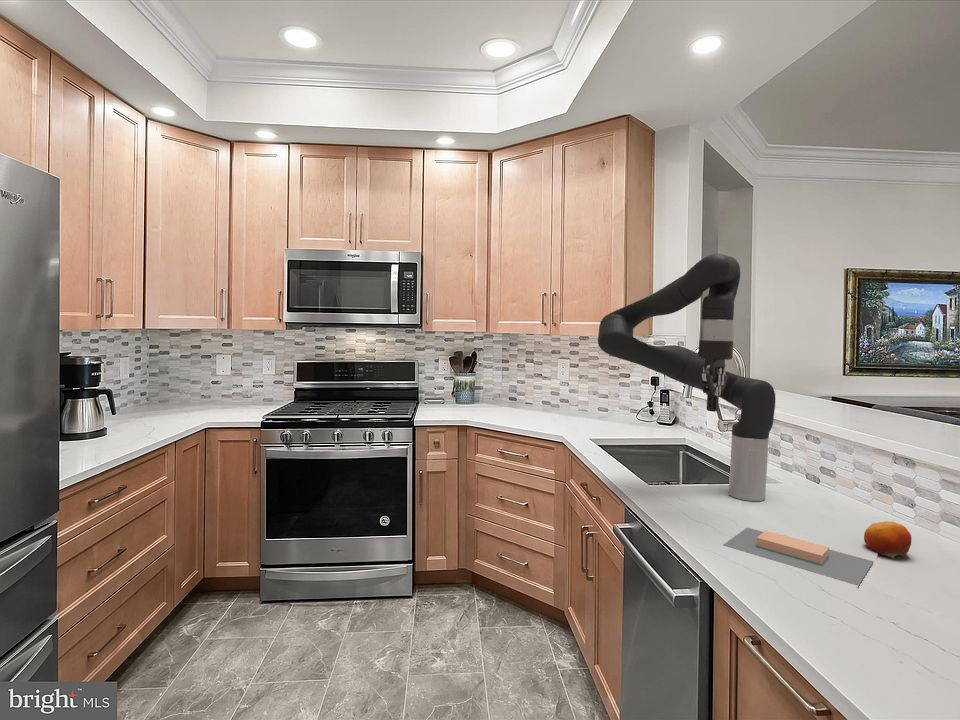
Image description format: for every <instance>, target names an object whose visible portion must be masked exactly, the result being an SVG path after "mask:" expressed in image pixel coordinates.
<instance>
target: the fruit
mask: <svg viewBox="0 0 960 720" xmlns="http://www.w3.org/2000/svg"><path fill="white" fill-rule="evenodd" d="M863 542H864V543H865V544H866V546H867V547H868V549H870V550H871V551H873V552H876V553H877V554H878V555H879V556H885V557H889V558H891V559H895V557H896V556H902V557H906V558H907V559H909V560H910V559H911V558H910V557H909V556H908V553H909V552H910V548H911V547H912V534H911V532H910V531H909V530H908V528H907V527H906V526H904V525H903V524H901V523H898V522H895V521H879V522H874V523H871V524H870V525H869V526H868V527H867V528H866V529H865V531H864V533H863Z"/></svg>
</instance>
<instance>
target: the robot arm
mask: <svg viewBox="0 0 960 720" xmlns="http://www.w3.org/2000/svg"><path fill="white" fill-rule="evenodd" d="M740 280H741V267H740V264H739V261H738V260H737V259H735V257H732V256H729V255H726V254H721V253H712V254H709V255H706V256H705V257H703V258H701V259H700V260H699V261H698V262H696V263H695V264H694V265H692V267H691V268H689V269H688V270H687V272H685V274H683V275H682V276H680V277H678V278H676V279H675V280H673V281H671V282H670V283H669V284H667V285H666V286H663V287H662V288H661V289H658V291H655V292H654V293H652V294H650V295H648V296H646V297H643V298H642V299H639V300H637V301H635V302H632V303H631V304H628V305H626V306H623V307H620V308H619V309H616V310H613V311H612V312H610V313H607V314H606V315H605V316H604V317H603V318H602V319H601V321H600V323H599V329H598V335H597V343H598V344H597V345H598V347H599V348H600V350H601V351H603V352H604V353H605V354H606V355H607V354H608V355H609V356H611V357H612V356H613V357H615V358H618V359H621V360H624V361H627V362H630V363H634V364H636V365H639V366H642V367H644V368H647V369H649V370H652V371H654V372H656V373H659V374H662V375H664V376H666V377H667V378H670V379H672V380H674V381H676V382H678V383H681V384H683V385H687V386H688V387H692V388H695V389H699V390H701V391H702V392H703V394H705V395H706V411H708V412H718V411H719V400H720V398H721V399H722V400H723V401H726V402H727V403H728V404H731V405H732V406H734V407H735V408H737V409H739V410H741V411H740V418H739V420H738V421H737V422H735V423H734V424H733V425H732V428H731V445H730V446H731V447H730V463H729V466H730V467H729V480H728V495H729V496H731V497H733V498H736V499H739V500H743V501H749V502H762V501H764V500H766V489H767V488H766V487H767V474H768V473H767V472H768V471H767V470H768V457H769V456H768V455H769V440H770V439H769V438H770V432H771V430H772V428H773V425H774V418H775V409H776V392H775V389H774V387H773V385H772V384H771V383H769V382H767V381H766V380H762V379H759V378H758V379H757V378H752V377H745V376H743V375H738V374H735V373H732V372H729V371H726V370H727V367H726V361H729V360H732V359H733V355H734V338H735V325H734V316H735V314H734V313H735V300H736V299H735V298H736V296H737V293H738V288H739V285H740ZM707 290H708V294H707V295H706V296H705V297H704V298H703V300H702V304H701V318H700V320H701V321H700V326H699V335H698V336H699V337H698V352H695V351H693V350H692V349H689V348H686V347H684V346H681V345H674V344H673V345H672V344H670V345H669V344H667V345H660V346H659V345H652V344H650V343H646V342H644V341H642V340H639V339H637V338H636V337H634V329H635V328H636V327H637V326H638V325H639V324H641V323H643V322H644V321H645V320H648V319H650V318H653V317H657V316H666V315H670V314H674V313H677V312H679V311H681V310H683V309H684V308H686V307H687V306H689V305H691V304H693V303H694V302H696V301H698V300H699V299H700V298H701V297H702V296H703V294H704V292H705V291H707ZM725 360H726V361H725Z"/></svg>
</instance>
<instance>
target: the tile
mask: <svg viewBox="0 0 960 720" xmlns="http://www.w3.org/2000/svg"><path fill="white" fill-rule="evenodd" d="M762 532H763V533H762V534H760V535H759V536H758V537H757V538H756V547H758V548H762V549H765V550H769V551H772V552H776V553H779V554H783V555H786V556H790V557H793V558H797V559H800V560H804V561H807V562H811V563H814V564H817V565H821V566H822V564H823V563H824V562H825V561H826V559H827V558H828V557H829V549H830V546H827V545H822V544H819V543H814V542H810V541H807V540H803V539H800V538H795V537H791V536H788V535H785V534H780V533H777V532H773V531H770V530H764V531H762Z"/></svg>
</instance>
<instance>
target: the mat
mask: <svg viewBox="0 0 960 720" xmlns="http://www.w3.org/2000/svg"><path fill="white" fill-rule="evenodd" d="M763 532H764V531H763V530H758V529H754V528H750V527H746V528H744V529H743V530H742V531H740V532H739V533H737V534H736V535H735V536H733V537H731V539H729V540H727V542H725V543H724V544H722V546H725V547H727V548H731V549H734V550H737V551H740V552H744V553H748V554H749V555H750V554H751V555H754V556H756V557H757V556H758V557H760V558H764V559H768V560H771V561H775V562H778V563H781V564H784V565H788V566H791V567H794V568H798V569H799V570H800V569H801V570H804V571H808V572H811V573H813V574H814V573H815V574H818V575H820V576H825V577H828V578H831V579H834V580H837V581H841V582H844V583H848V584H852V585H854V586H856V587H857V588H858V589H859V588H860V587H861V585H862V584H861V583H863V582H864V580H865V579H864V578H866V577H867V575H868V574H867V573H869V572H870V570H871V569H872V567H873V565H874V560H871V559H866V558H863V557H859V556H855V555H853V554H849V553H848V554H847V553H845V552H844V553H843V552H840V551H837V550H834V549H833V550H832V549H830V548H829V557H828V558H827V559H826V561H825V562H824V563H823V564H822V566H821V565H817V564H814V563H811V562H807V561H804V560H800V559H797V558H793V557H790V556H786V555H783V554H779V553H776V552H772V551H769V550H765V549H762V548H758V547H756V538H757V537H758V536H759V535H760V534H762V533H763ZM870 568H871V569H870ZM868 571H869V572H868ZM865 576H866V577H865ZM863 579H864V580H863ZM862 581H863V582H862ZM860 584H861V585H860ZM859 586H860V587H859Z"/></svg>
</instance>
